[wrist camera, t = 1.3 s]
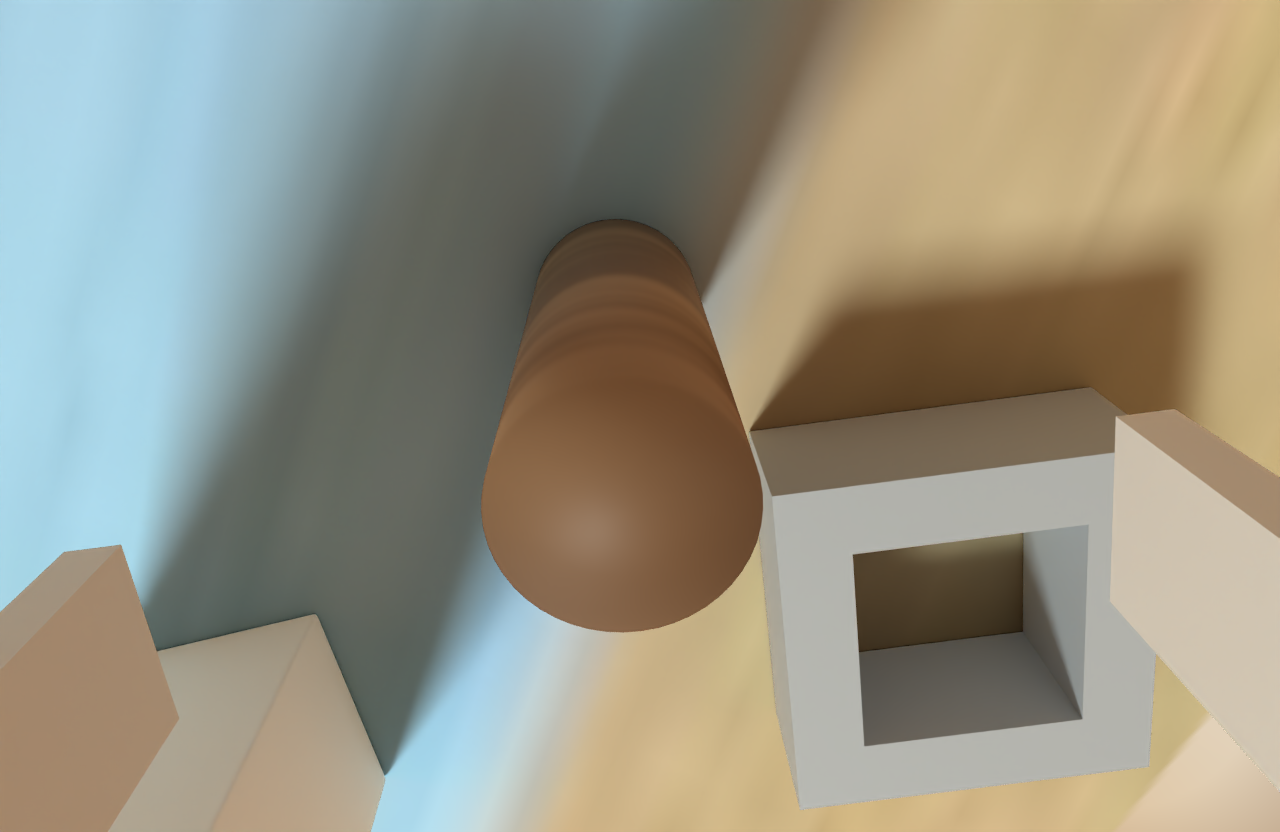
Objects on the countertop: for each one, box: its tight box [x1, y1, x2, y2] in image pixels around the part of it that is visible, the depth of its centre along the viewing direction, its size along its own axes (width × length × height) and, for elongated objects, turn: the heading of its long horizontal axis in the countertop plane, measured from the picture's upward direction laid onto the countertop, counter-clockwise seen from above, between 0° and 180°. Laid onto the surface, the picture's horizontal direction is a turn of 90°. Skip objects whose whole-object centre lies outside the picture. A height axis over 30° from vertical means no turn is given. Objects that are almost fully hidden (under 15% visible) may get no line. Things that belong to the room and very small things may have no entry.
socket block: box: [749, 387, 1156, 810], centre depth 27 cm, size 9×9×4 cm
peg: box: [481, 219, 763, 632], centre depth 20 cm, size 4×4×12 cm
